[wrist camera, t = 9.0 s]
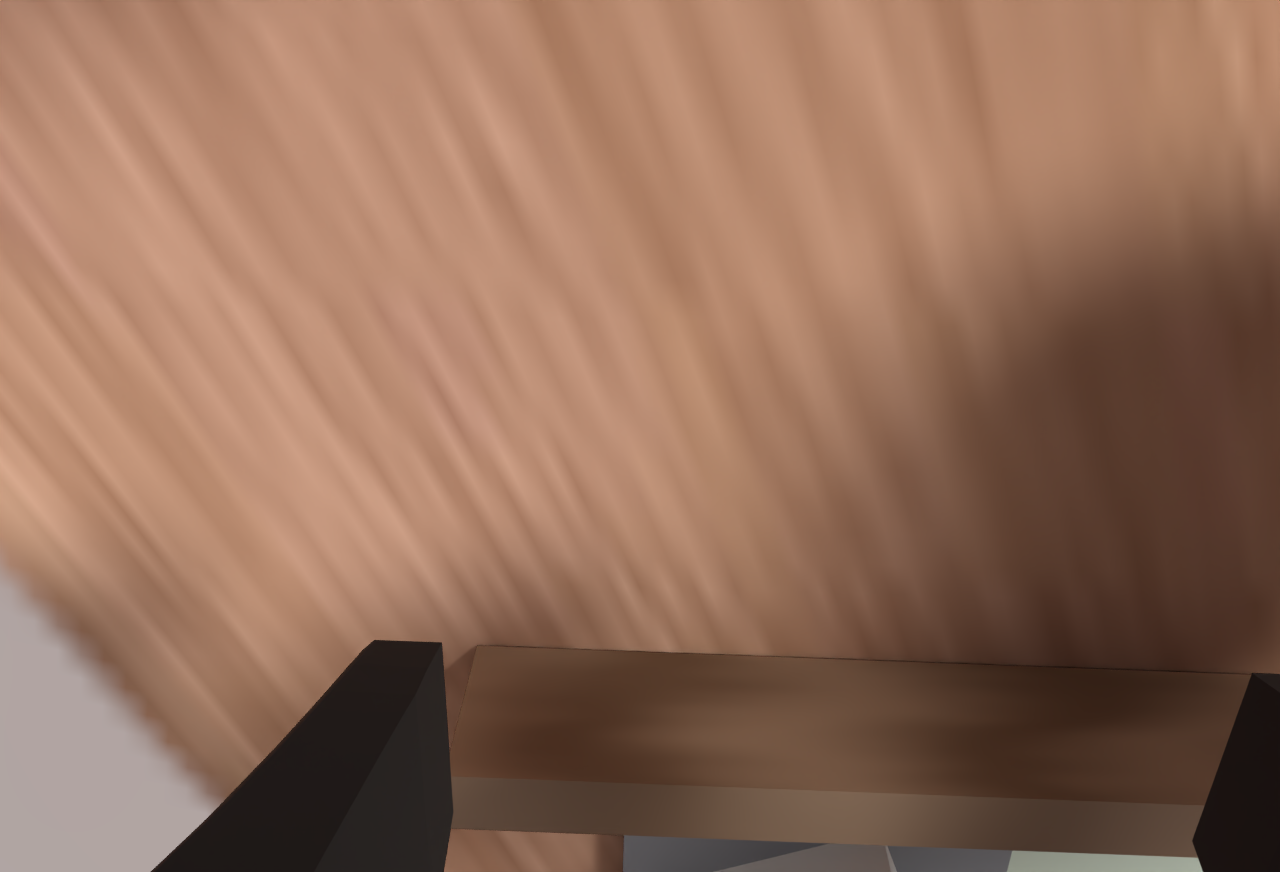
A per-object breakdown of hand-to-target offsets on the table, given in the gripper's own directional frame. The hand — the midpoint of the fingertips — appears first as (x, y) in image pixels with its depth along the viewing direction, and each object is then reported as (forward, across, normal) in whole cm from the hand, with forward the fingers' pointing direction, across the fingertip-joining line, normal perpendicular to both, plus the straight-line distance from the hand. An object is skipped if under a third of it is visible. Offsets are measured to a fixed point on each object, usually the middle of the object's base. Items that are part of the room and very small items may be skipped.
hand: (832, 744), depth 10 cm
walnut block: (+9, -5, +7) cm, 13 cm away
